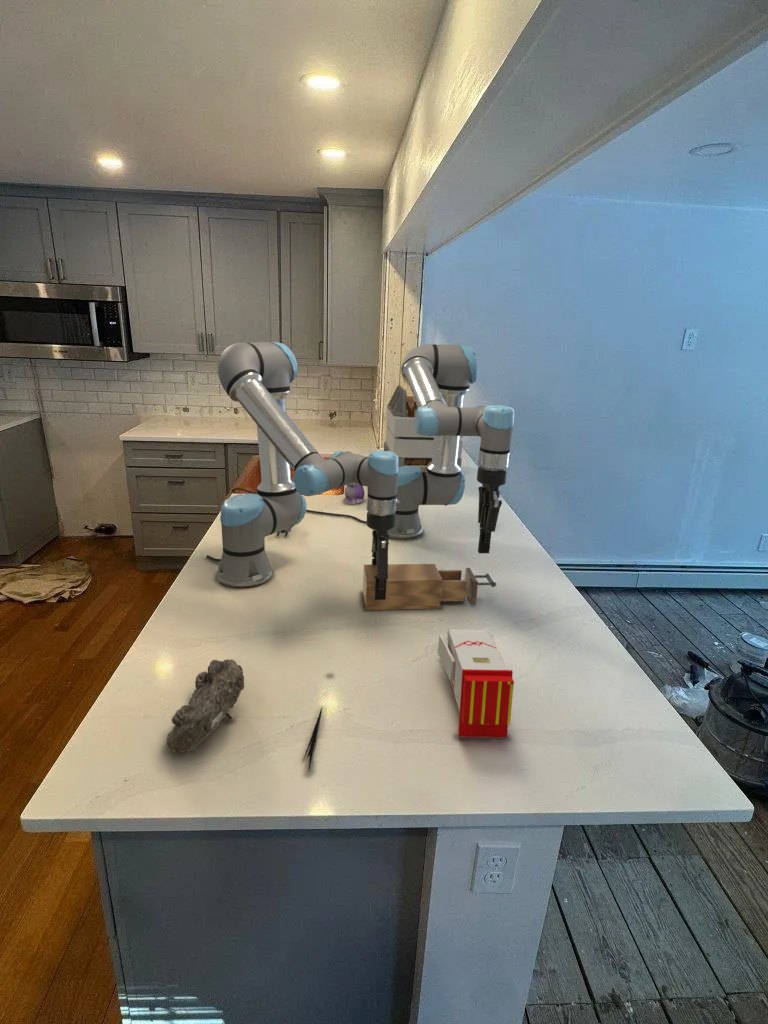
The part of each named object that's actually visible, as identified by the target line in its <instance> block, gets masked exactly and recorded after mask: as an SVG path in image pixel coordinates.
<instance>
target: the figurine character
mask: <svg viewBox="0 0 768 1024" xmlns="http://www.w3.org/2000/svg"><path fill="white" fill-rule="evenodd" d="M294 527H295V526H293V527H292V528H294ZM292 528H289V529H285V530H282V531H280V532H277V533H276V536H277V537H279V536H280V533H281V534H284V537H287V536H288V534H289V533H290V532H292Z"/></svg>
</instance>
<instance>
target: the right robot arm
mask: <svg viewBox="0 0 768 1024" xmlns="http://www.w3.org/2000/svg"><path fill="white" fill-rule="evenodd" d="M478 367H479V365H478V359H477V354H476V352H475V350H474V349H473V347H471V346H469V345H463V344H438V343H437V344H436V343H435V344H434V343H433V344H432V343H425V344H424V343H423V344H419V345H418V346H415V347H414V348H412V349H411V350H410V351H409V352H407V353H406V355H405V356H404V358H403V360H402V361H401V367H400V373H401V377H402V379H403V381H404V382H405V384H406V385H408V386H409V389H410V391H411V394H412V396H414V399H415V401H416V404H417V406H418V409H417V410H416V414H415V427H416V432H417V433H418V434H419V435H428V436H434V443H433V454H432V462H431V463H429V464H428V465H427V466H426V471H422V469H421V467H420V466H407V465H404V466H402V467H398V469H399V473H398V482H397V499H398V500H399V503H396V512H395V513H396V525H395V527H394V528H393V529H391V530H388V535H389V540H395V541H410V540H415V539H418V538H420V537H421V536H422V535H423V525H422V524H421V518H420V515H419V507H420V506H449V505H451V506H453V505H457V504H459V502H460V501H462V499H463V496H464V493H465V489H466V483H465V482H466V477H465V474H464V472H462V467H461V468H460V467H459V466H458V465H457V457H458V448H459V438H460V436H463V437H480V442H479V443H480V444H479V452H478V460H477V464H478V467H477V473H476V481H477V482H478V483H479V484H482V485H481V486H478V514H477V515H478V516H477V517H478V518H477V523H478V524H479V537H478V546H477V553H478V554H490V549H491V542H492V541H491V540H492V533H495V532H496V527H497V524H498V519H499V513H500V509H501V507H502V504H503V501H502V500H501V499H500V494H501V492H500V487H501V486H503V485H505V484H506V483H507V480H508V479H507V478H508V469H507V468H508V467H509V463H510V462H509V461H510V459H511V458H512V455H511V454H510V452H511V446H512V445H511V444H512V438H513V432H514V431H513V430H514V426H515V410H514V408H513V407H511V406H508V405H501V404H488V405H482V404H479V405H478V404H477V405H475V406H471V407H469V406H464V399H465V394H466V393H468V391H470V388H471V384H475V383H476V382H477V378H478V373H479V371H478V370H479V368H478ZM460 439H461V438H460ZM238 490H239V491H243V492H245V493H247V494H248V493H249V494H250V493H251V494H257V492H255V491H251V490H247V489H246V488H241V487H235V488H233V489H231V492H234V491H238ZM306 513H312V514H318V515H319V514H320V515H328V516H334V517H335V516H336V517H346V518H351V519H354V520H356V521H358V522H360V523H363V524H367V520H362V519H360V518H358V517H356V516H354V515H349V514H344V513H334V512H333V513H332V512H324V511H318V510H311V509H306Z"/></svg>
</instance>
